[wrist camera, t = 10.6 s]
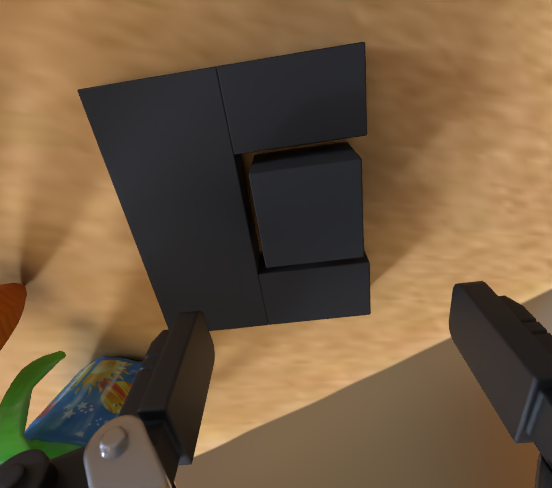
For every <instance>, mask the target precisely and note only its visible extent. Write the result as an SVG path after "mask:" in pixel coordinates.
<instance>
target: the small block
mask: <svg viewBox="0 0 552 488" xmlns="http://www.w3.org/2000/svg"><path fill="white" fill-rule="evenodd" d="M249 179H250V185H251V190H252V196H253V201H254V206H255V212H256V217H257V223H258V228H259V233H260V239H261V244H262V250H263V255H264V260H265V266H266V268H269V267H278V266H287V265H296V264H305V263H314V262H322V261H331V260H340V259H349V258H358V257H364V238H363V198H362V159H361V158H360V157H359V155H358V154H357V153H356V152H355V151H354V149H353V148H352V147H351V146H350V145H349V144H348V142H344V143H337V144H330V145H323V146H316V147H309V148H302V149H295V150H288V151H281V152H273V153H266V154H259V155H255V156H254V159H253V162H252V165H251V169H250V172H249Z"/></svg>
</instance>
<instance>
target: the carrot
mask: <svg viewBox="0 0 552 488" xmlns="http://www.w3.org/2000/svg"><path fill="white" fill-rule="evenodd" d="M26 295H27V292H26V288H25V286H24V285H23V284H19V283H9V284H3V285H0V350H1V349H2V348H3V346H4V345H5V343H6V342H7V340H8V339H9V337H10V336H11V334H12V332H13V331H14V329H15V328H16V326H17V324H18V322H19V320H20V317H21V315H22V312H23V309H24V305H25V300H26Z"/></svg>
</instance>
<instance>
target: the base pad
mask: <svg viewBox="0 0 552 488" xmlns="http://www.w3.org/2000/svg"><path fill="white" fill-rule="evenodd" d="M78 93H79V96H80V99H81V101H82V104H83V107H84V109H85V112H86V114H87V117H88V120H89V122H90V125H91V127H92V130H93V133H94V135H95V138H96V140H97V143H98V146H99V148H100V151H101V154H102V156H103V159H104V161H105V164H106V167H107V169H108V172H109V174H110V177H111V180H112V182H113V185H114V188H115V190H116V193H117V195H118V198H119V201H120V203H121V206H122V208H123V211H124V214H125V216H126V219H127V221H128V224H129V227H130V229H131V232H132V235H133V237H134V240H135V242H136V245H137V248H138V250H139V253H140V255H141V258H142V261H143V263H144V266H145V269H146V271H147V274H148V276H149V279H150V282H151V284H152V287H153V289H154V292H155V295H156V297H157V300H158V302H159V305H160V308H161V310H162V313H163V316H164V318H165V321H166V323H167V326H168V329H169V330H170V329H171V327H172V325H173V322H174V320H175V317H176V315H177V314H178V313H182V312H191V311H202V312H203V314H204V316H205V319H206V323H207V326H208V329H209V331H214V330H224V329H233V328H243V327H253V326H263V325H268V324H269V325H271V324H281V323H291V322H301V321H310V320H320V319H330V318H340V317H350V316H360V315H369V314H370V313H371V311H370V262H369V260H368V258H367V255H366V253H365V251H364V257H358V258H349V259H340V260H331V261H322V262H314V263H305V264H296V265H287V266H278V267H269V268H266V266H265V260H264V255H261V256H260V252H259V246H258V241H257V236H256V231H255V226H254V221H253V215H252V210H251V205H250V200H249V195H248V189H247V184H246V179H245V174H244V169H243V164H242V158H241V154H242V153H249V152H256V151H263V150H270V149H277V148H284V147H291V146H298V145H304V144H311V143H318V142H325V141H332V140H339V139H346V138H353V137H360V136H366V135H367V108H366V57H365V42H359V43H353V44H347V45H341V46H335V47H329V48H323V49H318V50H312V51H306V52H300V53H294V54H288V55H282V56H276V57H270V58H264V59H258V60H252V61H246V62H240V63H234V64H228V65H222V66H217V67H210V68H204V69H198V70H192V71H186V72H180V73H174V74H168V75H162V76H156V77H150V78H144V79H138V80H132V81H126V82H120V83H114V84H108V85H102V86H96V87H90V88H84V89H78Z"/></svg>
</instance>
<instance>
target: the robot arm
mask: <svg viewBox="0 0 552 488" xmlns="http://www.w3.org/2000/svg"><path fill="white" fill-rule="evenodd" d="M449 330H450V334H451V337H452V339H453V341H454V343H455V345H456V346H457V348H458V350H459V351H460V353H461V355H462V356H463V358H464V360H465V361H466V363H467V364H468V366H469V368H470V369H471V371H472V372H473V374H474V376H475V378H476V379H477V381H478V383H479V384H480V386H481V387H482V389H483V391H484V392H485V394H486V396H487V397H488V399H489V401H490V402H491V404H492V405H493V407H494V409H495V410H496V412H497V414H498V415H499V417H500V419H501V420H502V422H503V423H504V425H505V427H506V428H507V430H508V432H509V433H510V435H511V437H512V438H513V440H514V441H515V443H529V442H534V444H535V445H536V447H537V448H538V450H539V451H540V454H539V457H538V462H537V470H536V478H535V487H534V488H552V335H551V334H550V333H547V330H546V329H545V328H544V327H543V326H542V325H541V324H540V323H539V322H536V319H535V318H534V317H533V316H532V315H531V314H530V313H529V312H528V311H527V310H526V308H525V307H524V306H522V305H520V304H519V303H517V302H515V301H513V300H512V299H510V298H508V297H506V296H497V295H496V294H495V292H494V291H493V290H492V289H491V288H490V287H489V286H488V285H487V284H486V283H485V282H483V281H477V282H467V283H458V284H455V285H454V287H453V293H452V301H451V308H450V316H449ZM145 357H146V358H145V359H144V360H143V362H142V365H141V367H140V371H138V373H137V376H136V378H135V380H134V382H133V384H132V387H131V389H130V391H129V393H128V395H127V397H126V400H125V402H124V404H123V406H122V408H121V411H120V413H119V415H118V417H117V418H114V419H112V420H110V421H108V422H107V423H106V424H104V425H103V426H102V427H100V428H99V429H98V430H97V431H96V432H95V433H94V435H93V436H92V437H91V439H90V440H89V442H88V444H87V445H85V446H83V447H81V448H78V449H76V450H73V451H71V452H68V453H65V454H63V455H60V456H58V457H55V458H52V459H49V457H48V456H47V455H46V454H45V453H44V452H43V451H41V450H38V449H30V450H26V451H23V452H20V453H18V454H16V455H14V456H13V457H11V458H9V459H8V460H7V461H5V462H4V463H2V464H1V465H0V488H177V486H176V483H175V481H174V479H175V476H176V472H177V468H178V465H188V464H192V461H193V456H194V452H195V447H196V443H197V438H198V434H199V429H200V425H201V420H202V416H203V411H204V407H205V402H206V398H207V393H208V389H209V384H210V380H211V375H212V370H213V366H214V360H215V352H214V345H213V341H212V338H211V335H210V332H209V329H208V326H207V323H206V319H205V316H204V314H203V312H202V311H191V312H182V313H178V314H177V315H176V317H175V320H174V322H173V325H172V327H171V329H170V330H163V331H162V332H161V333H160V334H159V335H158V336H157V337H156V338H155V340H154V341H153V342H152V343H151V345H150V347H149V349H148V352H147V354H146V356H145Z"/></svg>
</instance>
